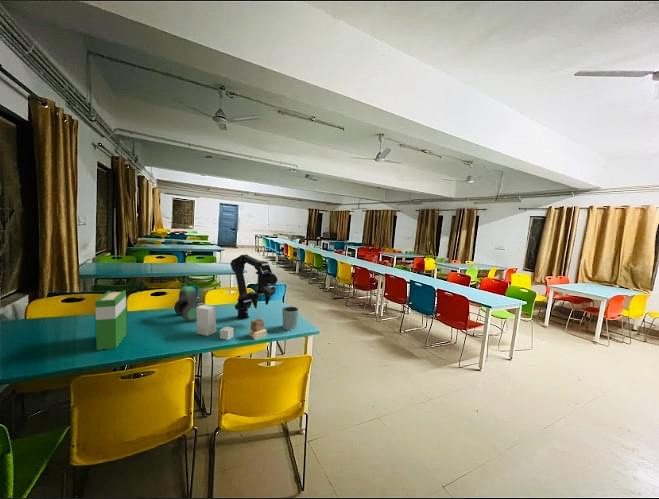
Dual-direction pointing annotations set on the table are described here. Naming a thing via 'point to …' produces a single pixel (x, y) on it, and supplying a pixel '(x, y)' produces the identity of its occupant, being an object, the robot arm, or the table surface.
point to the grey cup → (290, 317)
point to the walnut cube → (257, 325)
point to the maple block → (257, 334)
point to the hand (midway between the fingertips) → (261, 306)
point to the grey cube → (226, 333)
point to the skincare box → (206, 319)
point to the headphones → (187, 304)
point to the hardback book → (110, 319)
